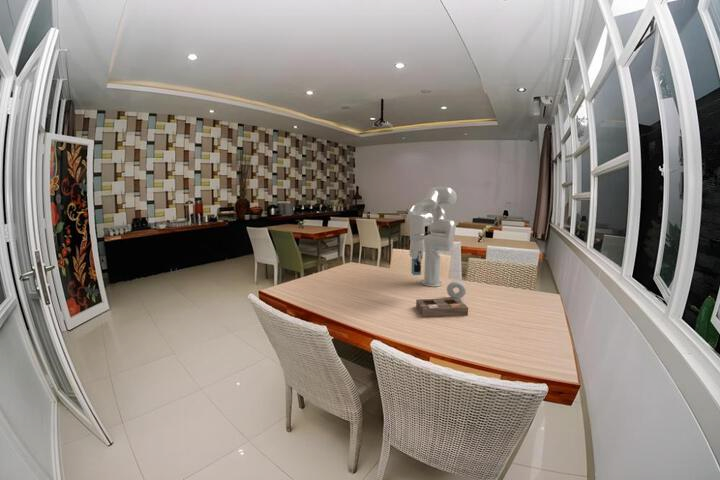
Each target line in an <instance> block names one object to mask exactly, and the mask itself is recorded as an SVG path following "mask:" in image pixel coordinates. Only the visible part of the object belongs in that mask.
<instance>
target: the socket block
mask: <svg viewBox="0 0 720 480" xmlns="http://www.w3.org/2000/svg"><path fill="white" fill-rule="evenodd" d="M415 301H416V302H415V304H416V305H415V307H416V309H417V310H418V312H419V314H420V315H421V316H422V318H433V317H434V318H436V317H437V318H438V317H458V316H459V317H461V316H468V315H469V307H468V305H466V304H465V303H464V302H463V301H461V299H458V298H452V297H451V298H424V299H416V300H415Z"/></svg>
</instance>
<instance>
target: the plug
mask: <svg viewBox="0 0 720 480" xmlns="http://www.w3.org/2000/svg"><path fill="white" fill-rule="evenodd" d="M417 261H418V260H417ZM414 267H415V259H412V258H411V270H410V271H411V274H412V276H421V275H422V270H421V271H420V272H414Z"/></svg>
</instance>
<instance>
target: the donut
mask: <svg viewBox="0 0 720 480" xmlns="http://www.w3.org/2000/svg"><path fill="white" fill-rule="evenodd" d="M455 288H457V289H458V290H459V291H458V292H455V291H454V289H455ZM446 292H447V294H448V296H449V297H451V298H458V299H459V300H461V299H462V298H464V297H465V295H466V293H467V289H466V286H465V285H464V283H462V282H461V281H458V280H457V281H456V280H455V281H454V280H453V281H452V282H449V284H448V285H447V286H446Z"/></svg>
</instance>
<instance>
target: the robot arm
mask: <svg viewBox="0 0 720 480" xmlns="http://www.w3.org/2000/svg"><path fill="white" fill-rule="evenodd" d="M457 200H458V197H457V192H456V191H455V190H454V189H453V188H451V187H449V186H433V187H431V188H429V189H428V191H427V193H426V195H425V196H424V198H423V200H421V201H419V202H417V203H415V204H413V205H412V206H411V207H410V209H409V210H408V212H407V215H406V223H407V224H408V225H409V240H410V243H409V257H410V258H411V260H412V259H415V267H414V272H420V271H421V272H422V260H423V259H424V268H423V269H424V271H423V272H424V274H423V279H422V280H421V285H423V286H427V287H433V288H434V287H440V286H441V285H442V284H443V283H442V281H440V276H441V275H440V271H441V256H440V255H441V254H440V253H439V252H446V253H447V252H450V251H451V252H452V249H453V246H454V242H455V235H456V222H455V221H454V220H452V219H445V218H446V212H445V209H444V208H443V207H442V206H441V205H443V206H453V205H455V204H456V203H457ZM426 227H428V228H429V229H428V231H429V232H430V233H431V234H429V235H426V236H425V232H426V230H425V228H426ZM417 260H418V261H417Z"/></svg>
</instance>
